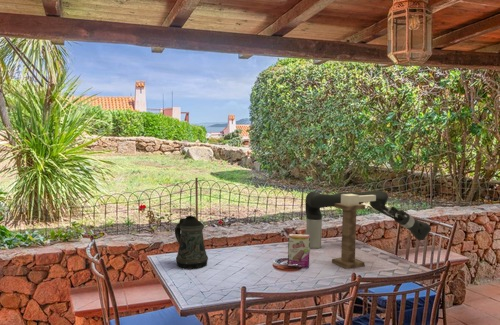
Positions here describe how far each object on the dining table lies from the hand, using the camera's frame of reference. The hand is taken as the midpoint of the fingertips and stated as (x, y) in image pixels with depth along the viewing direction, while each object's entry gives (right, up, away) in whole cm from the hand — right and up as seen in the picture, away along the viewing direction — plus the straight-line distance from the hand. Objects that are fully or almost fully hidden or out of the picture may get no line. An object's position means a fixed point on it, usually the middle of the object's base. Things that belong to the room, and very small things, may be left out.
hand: (385, 206), depth 245 cm
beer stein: (-106, -29, -12) cm, 111 cm away
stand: (-23, -30, -9) cm, 38 cm away
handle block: (-17, +3, -9) cm, 19 cm away
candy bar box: (-50, -30, -13) cm, 59 cm away
